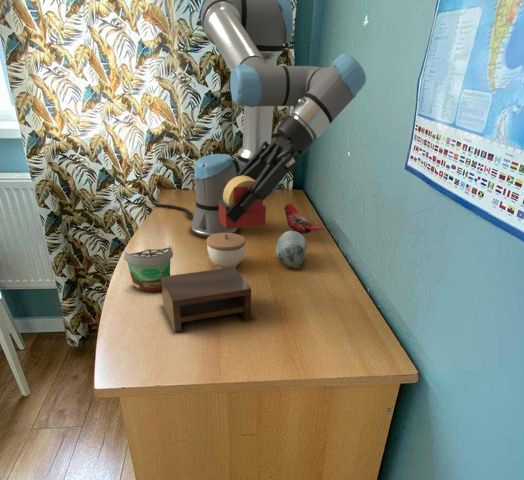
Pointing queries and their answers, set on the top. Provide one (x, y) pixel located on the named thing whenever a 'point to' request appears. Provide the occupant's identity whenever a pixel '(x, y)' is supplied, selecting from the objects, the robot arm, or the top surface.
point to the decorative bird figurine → (298, 221)
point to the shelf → (205, 295)
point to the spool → (291, 249)
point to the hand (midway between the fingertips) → (225, 213)
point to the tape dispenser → (231, 194)
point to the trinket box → (225, 249)
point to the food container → (149, 268)
